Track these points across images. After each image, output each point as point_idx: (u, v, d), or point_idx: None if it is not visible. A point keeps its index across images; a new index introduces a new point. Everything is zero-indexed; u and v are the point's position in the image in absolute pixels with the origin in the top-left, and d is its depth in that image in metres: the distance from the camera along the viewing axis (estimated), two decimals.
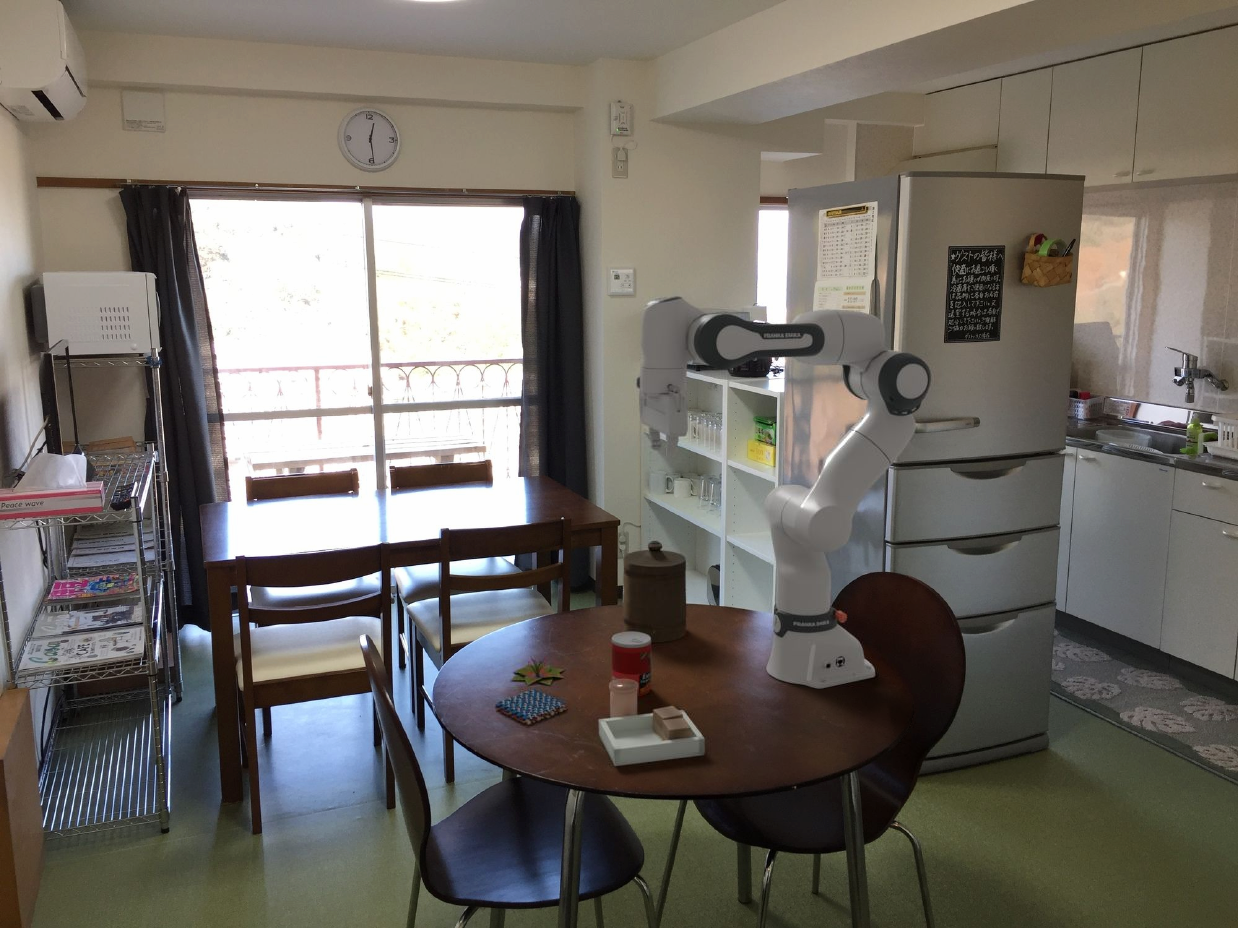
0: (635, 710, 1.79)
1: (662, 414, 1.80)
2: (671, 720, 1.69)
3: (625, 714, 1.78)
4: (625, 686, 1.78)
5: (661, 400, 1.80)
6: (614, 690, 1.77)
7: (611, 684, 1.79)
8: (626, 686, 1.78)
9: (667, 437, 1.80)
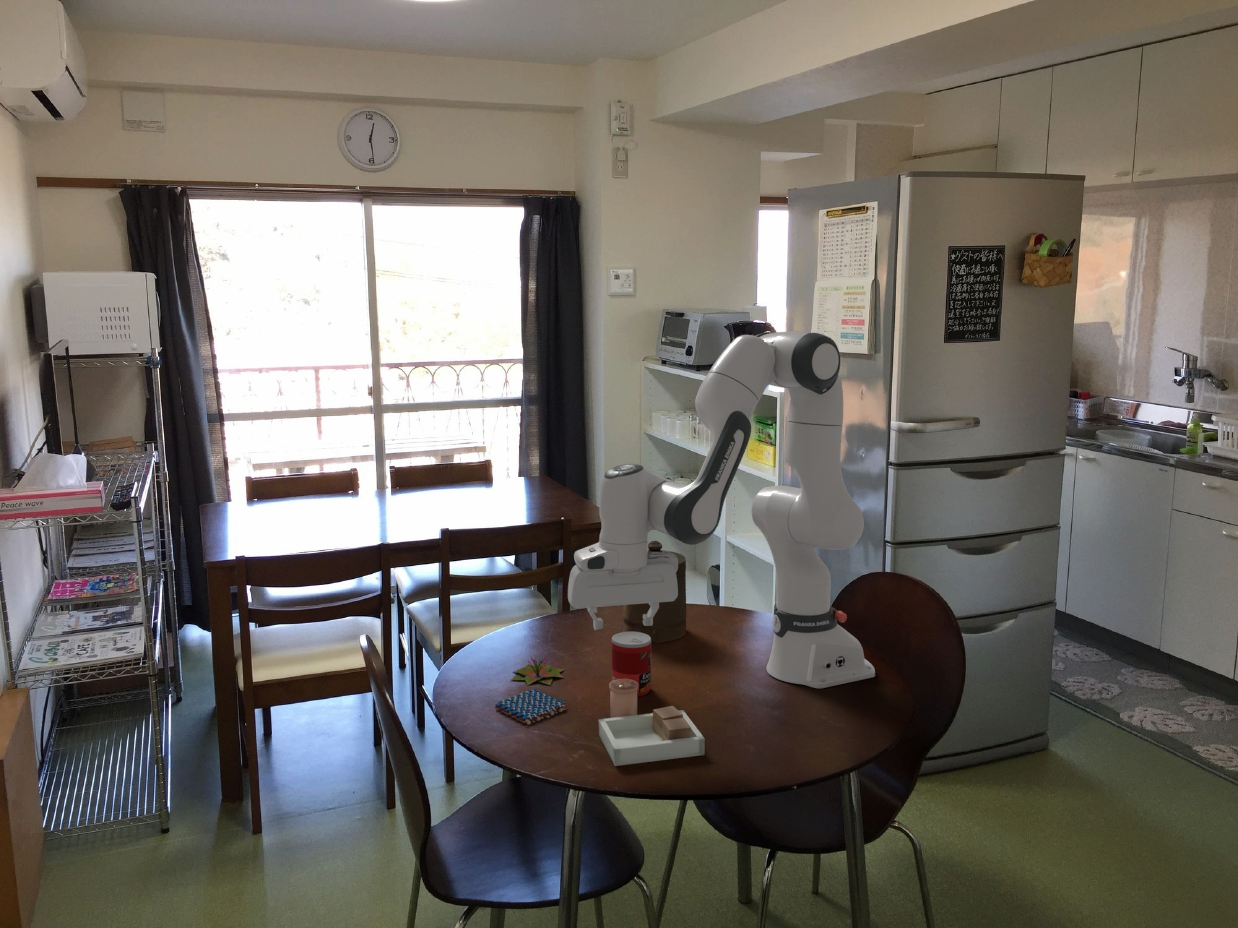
0: (635, 710, 1.79)
1: (653, 583, 1.75)
2: (671, 720, 1.69)
3: (625, 714, 1.78)
4: (625, 686, 1.78)
5: (650, 570, 1.75)
6: (614, 690, 1.77)
7: (611, 684, 1.79)
8: (626, 686, 1.78)
9: (656, 604, 1.77)
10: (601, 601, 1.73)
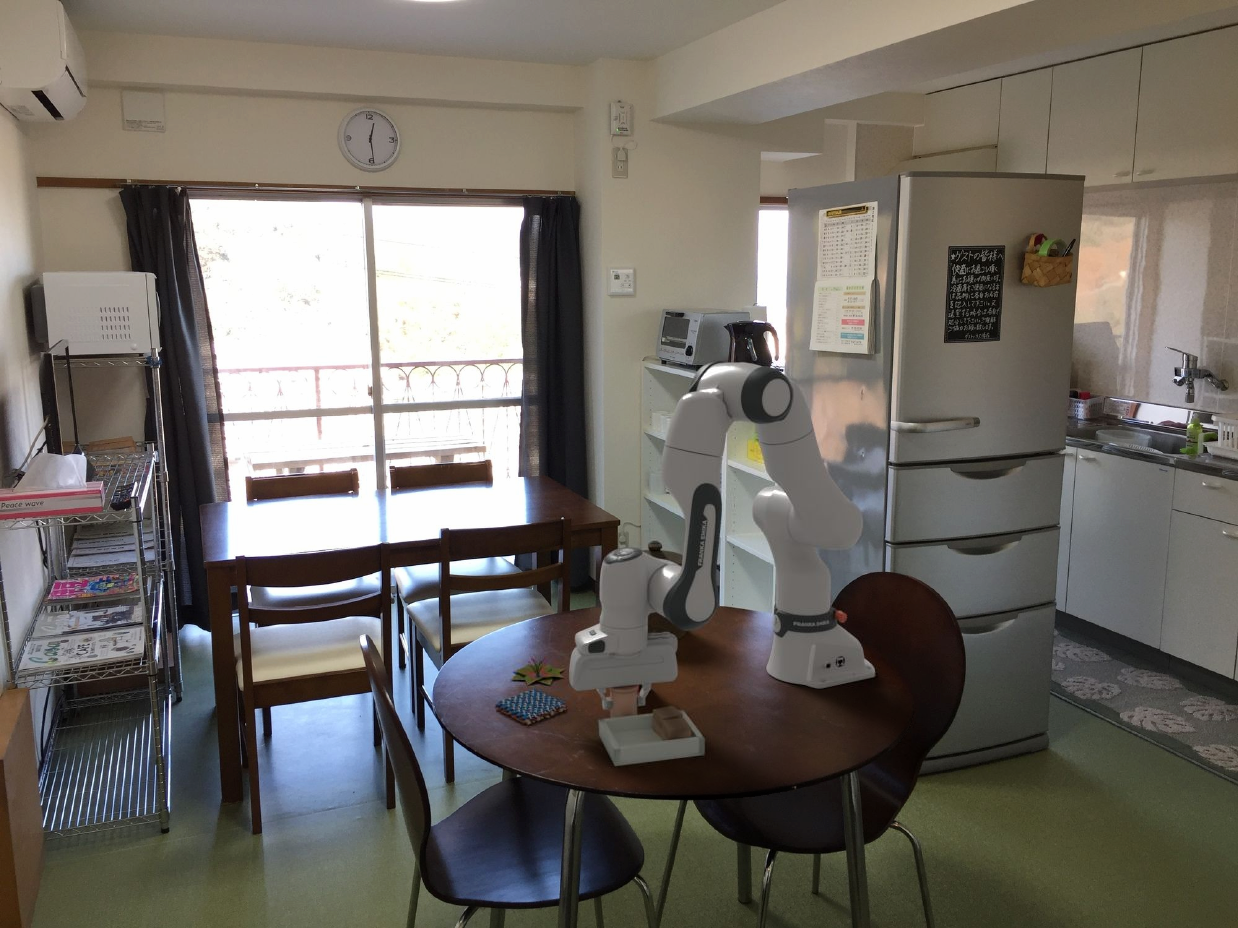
0: (635, 710, 1.79)
1: (653, 664, 1.78)
2: (671, 720, 1.69)
3: (625, 714, 1.78)
4: (625, 686, 1.78)
5: (650, 651, 1.78)
6: (614, 690, 1.77)
7: None
8: (626, 686, 1.78)
9: (648, 685, 1.79)
10: (602, 683, 1.76)
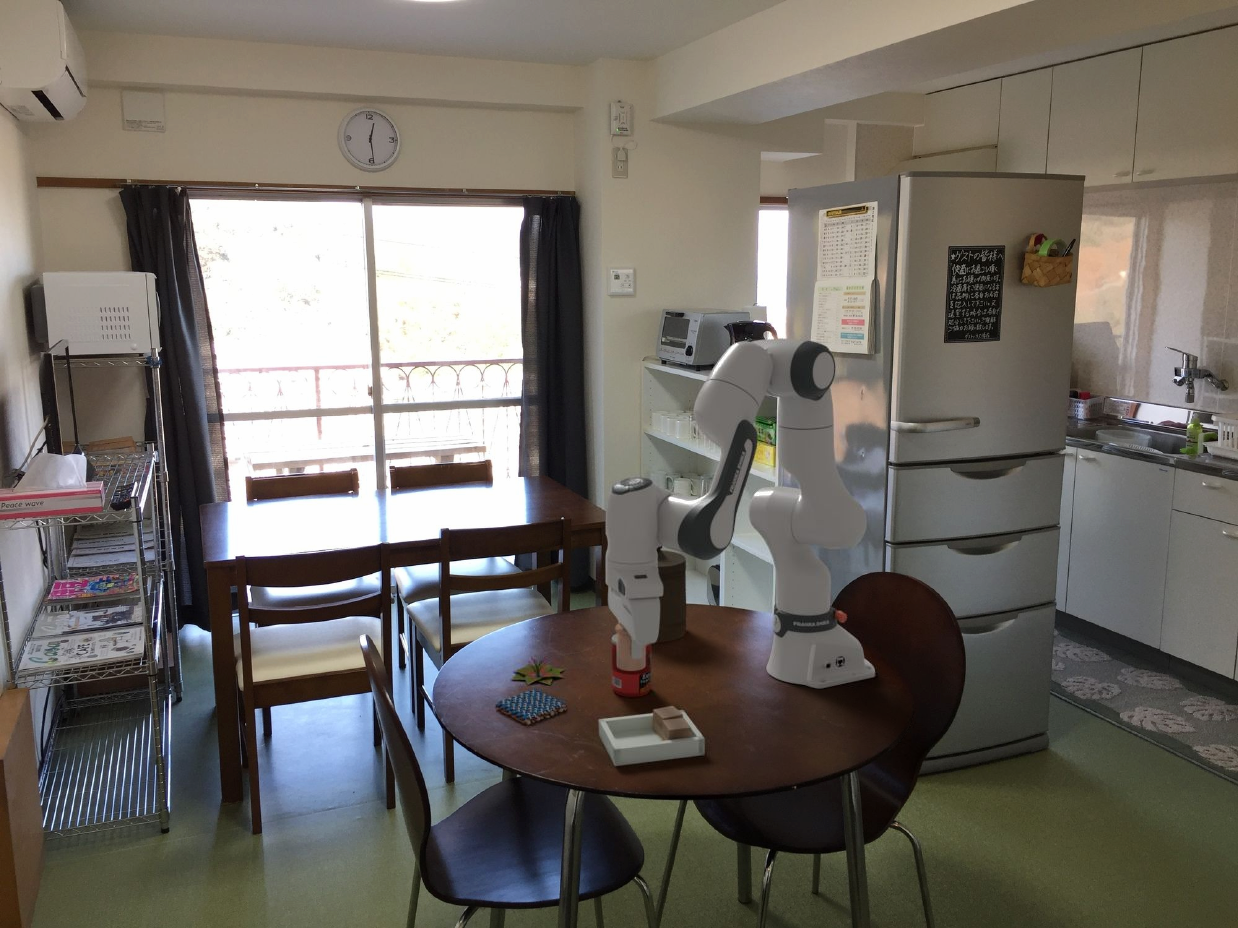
0: None
1: None
2: (671, 720, 1.69)
3: None
4: None
5: None
6: None
7: None
8: None
9: None
10: None
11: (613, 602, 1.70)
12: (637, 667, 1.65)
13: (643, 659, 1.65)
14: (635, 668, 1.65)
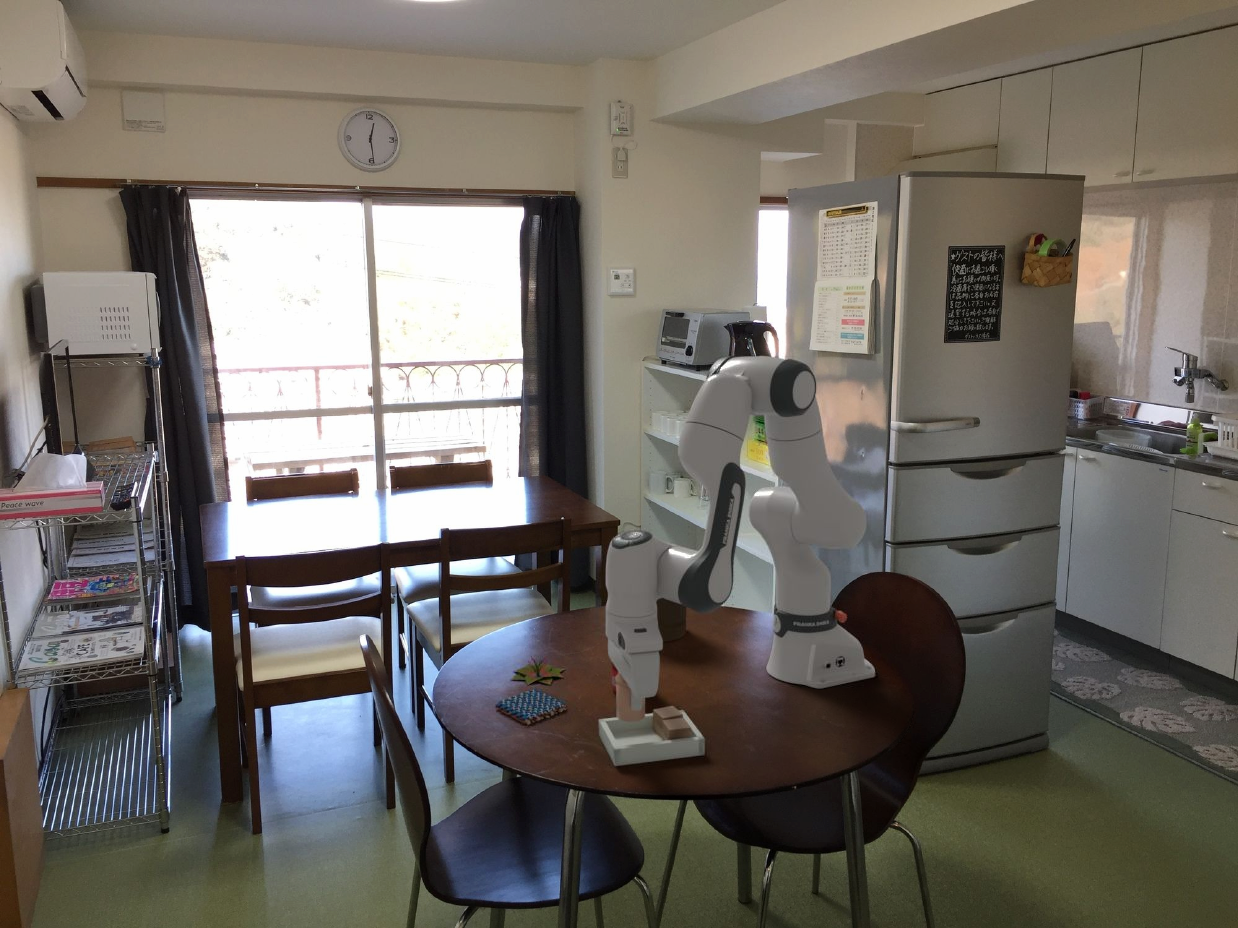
0: None
1: None
2: (671, 720, 1.69)
3: None
4: None
5: None
6: None
7: None
8: None
9: None
10: None
11: (613, 652, 1.72)
12: (636, 718, 1.66)
13: (642, 710, 1.67)
14: (634, 719, 1.66)
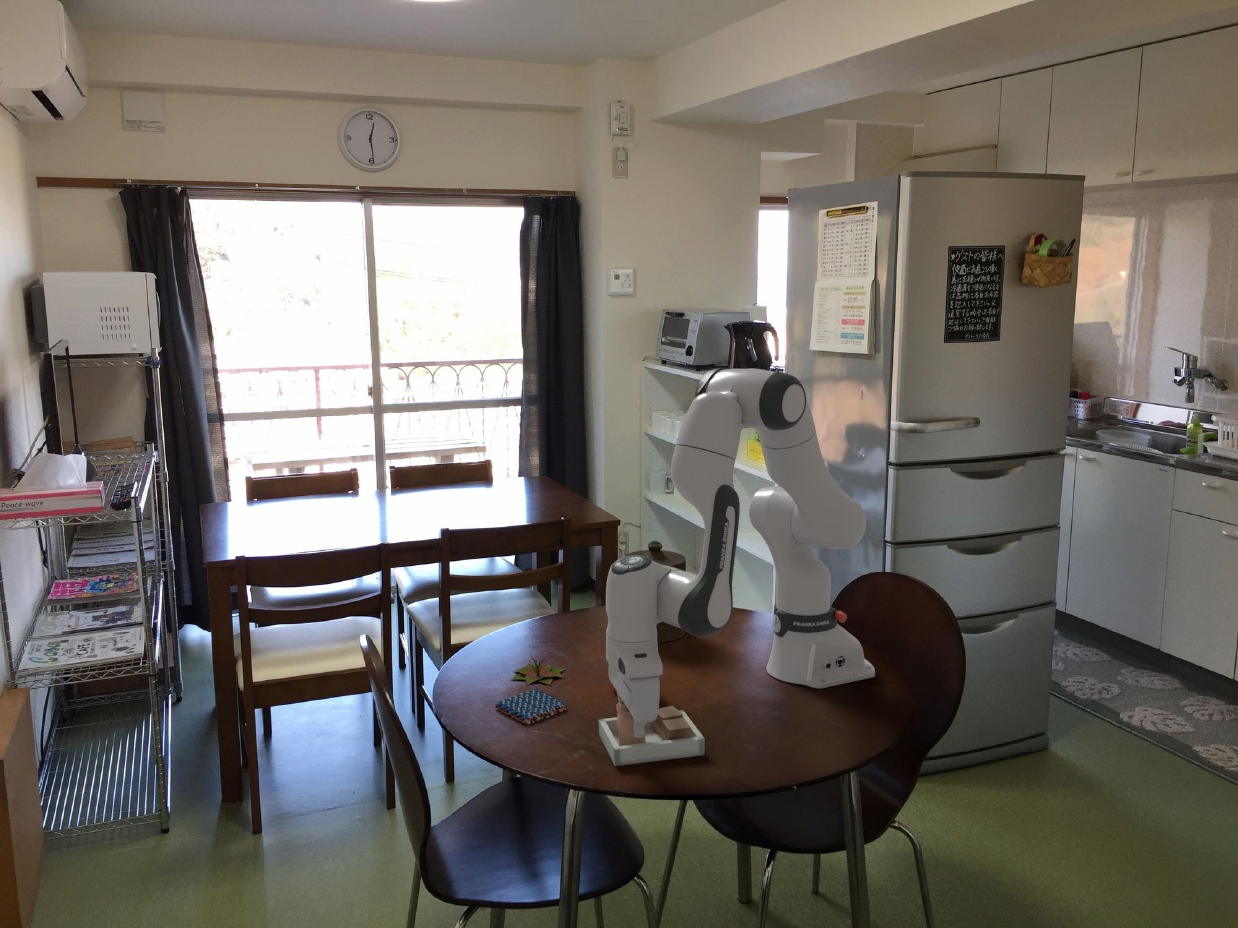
0: None
1: None
2: (671, 720, 1.69)
3: None
4: None
5: None
6: None
7: None
8: None
9: None
10: None
11: (613, 675, 1.73)
12: None
13: (643, 738, 1.68)
14: None
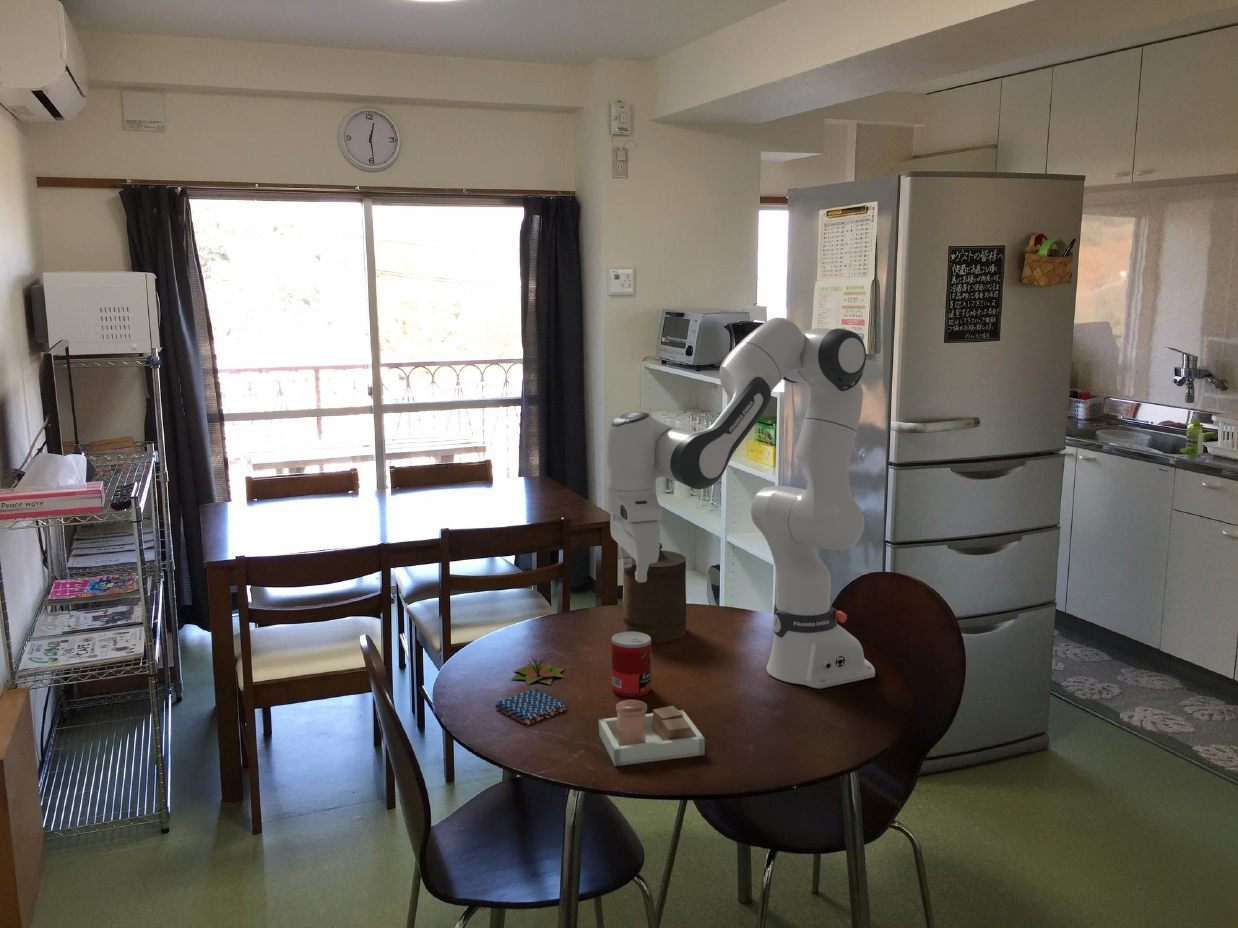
0: None
1: None
2: (671, 720, 1.69)
3: None
4: (636, 705, 1.69)
5: None
6: (643, 711, 1.67)
7: (631, 711, 1.66)
8: (636, 705, 1.69)
9: None
10: None
11: (615, 530, 1.83)
12: None
13: (643, 738, 1.68)
14: None
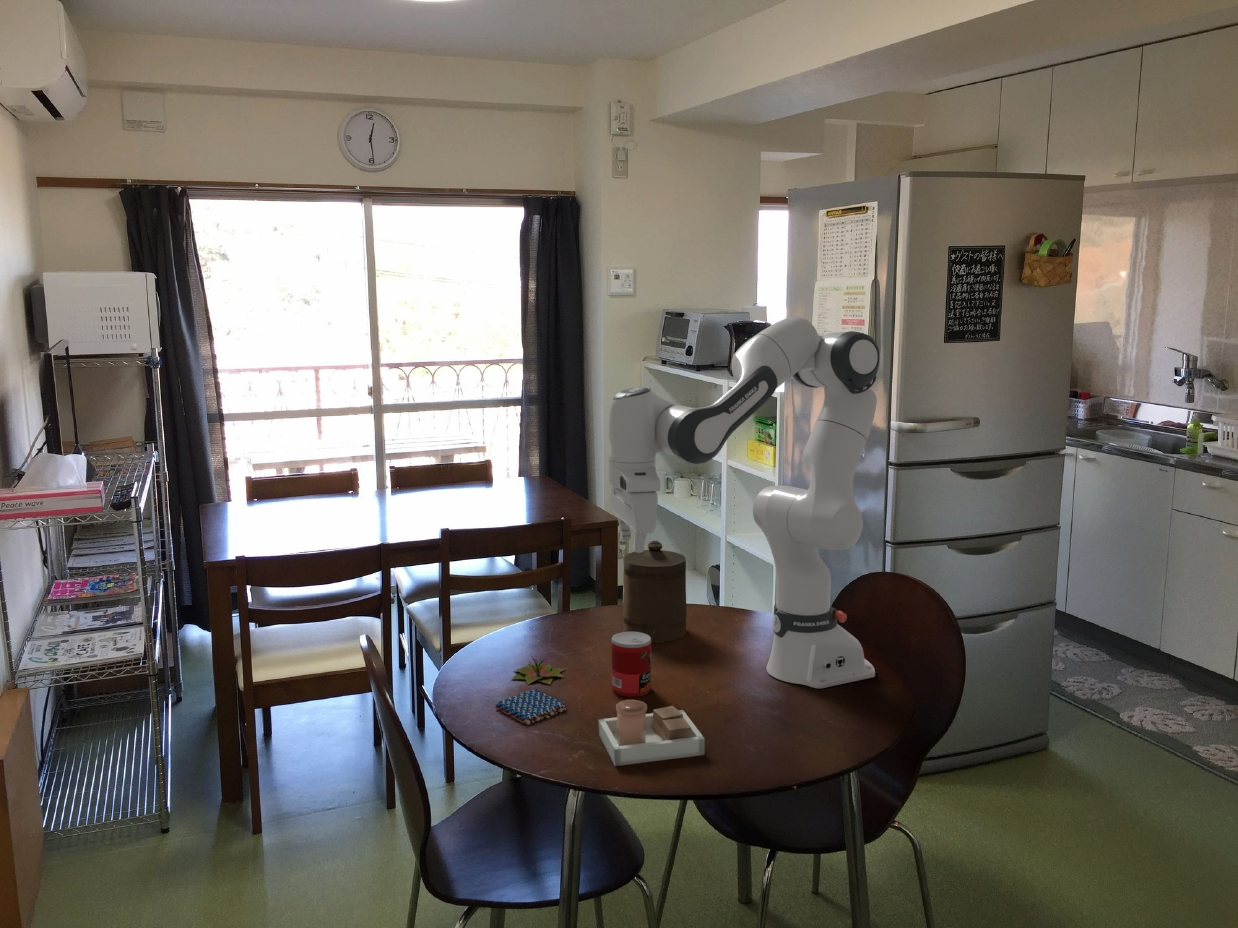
0: None
1: None
2: (671, 720, 1.69)
3: None
4: (636, 705, 1.69)
5: None
6: (643, 711, 1.67)
7: (631, 711, 1.66)
8: (636, 705, 1.69)
9: None
10: None
11: (615, 503, 1.88)
12: None
13: (643, 738, 1.68)
14: None
